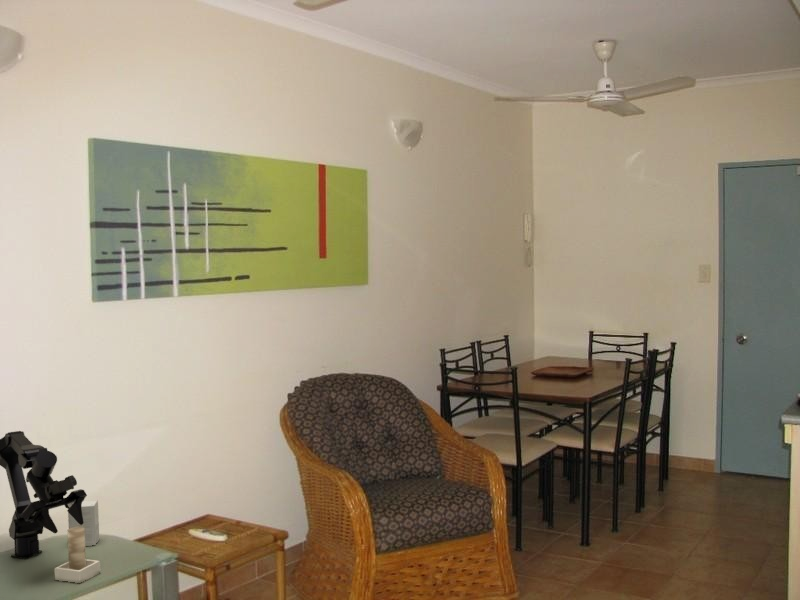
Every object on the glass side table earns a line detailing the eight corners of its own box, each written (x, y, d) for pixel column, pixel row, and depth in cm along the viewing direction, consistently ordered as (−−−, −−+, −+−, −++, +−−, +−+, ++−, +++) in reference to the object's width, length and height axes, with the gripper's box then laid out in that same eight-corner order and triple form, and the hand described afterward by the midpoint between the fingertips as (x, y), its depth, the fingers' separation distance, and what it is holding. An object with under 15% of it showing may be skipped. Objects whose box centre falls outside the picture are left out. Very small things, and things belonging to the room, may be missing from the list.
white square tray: (54, 580, 230) (54, 568, 230) (76, 569, 238) (75, 557, 238) (79, 583, 227) (79, 571, 227) (100, 572, 235) (100, 561, 235)
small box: (99, 539, 265) (98, 500, 265) (95, 546, 259) (94, 505, 258) (73, 541, 264) (72, 501, 263) (68, 547, 258) (67, 507, 257)
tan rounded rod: (65, 575, 231) (64, 530, 231) (76, 570, 236) (75, 525, 235) (78, 577, 230) (76, 532, 229) (89, 571, 234) (87, 527, 234)
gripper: (30, 474, 228) (57, 519, 223) (83, 462, 244) (109, 504, 240) (10, 498, 231) (36, 543, 227) (64, 484, 248) (89, 526, 243)
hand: (69, 528), depth 234 cm, fingers open, 9 cm apart
